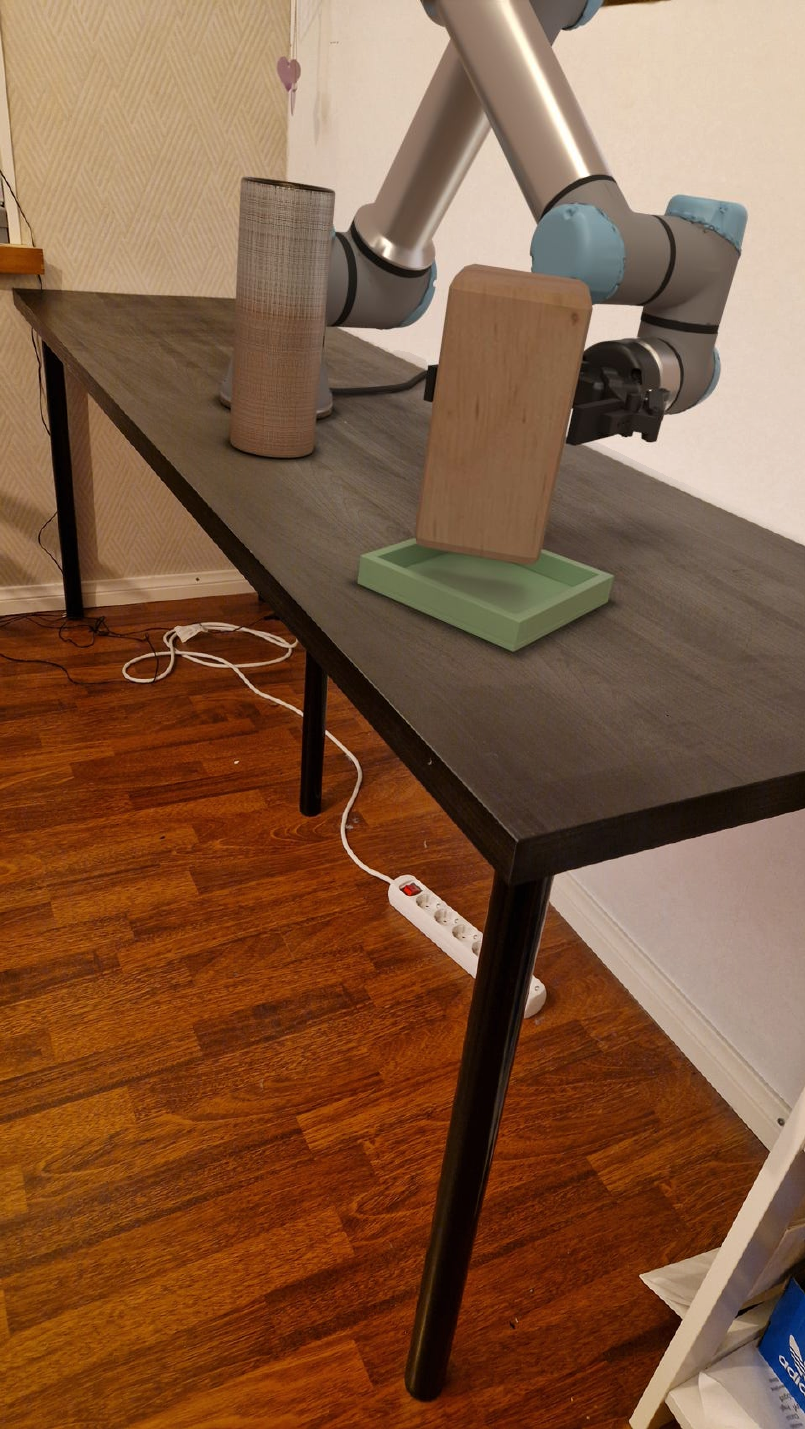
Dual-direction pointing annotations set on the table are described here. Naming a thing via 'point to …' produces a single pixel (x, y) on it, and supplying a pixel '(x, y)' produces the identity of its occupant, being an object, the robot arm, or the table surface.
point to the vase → (279, 315)
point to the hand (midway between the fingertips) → (498, 404)
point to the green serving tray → (487, 590)
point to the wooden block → (501, 411)
